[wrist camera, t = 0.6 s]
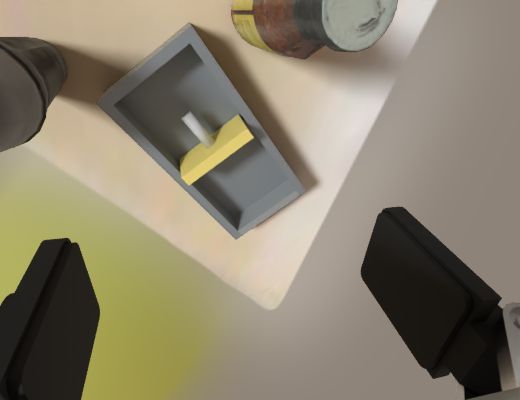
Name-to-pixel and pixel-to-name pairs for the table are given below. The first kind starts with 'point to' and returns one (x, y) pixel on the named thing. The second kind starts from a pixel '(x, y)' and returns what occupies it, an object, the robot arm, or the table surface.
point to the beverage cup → (27, 87)
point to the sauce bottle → (312, 24)
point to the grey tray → (212, 118)
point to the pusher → (211, 146)
